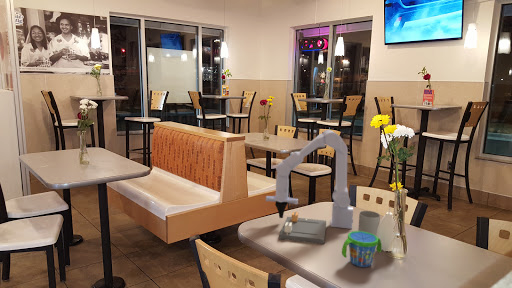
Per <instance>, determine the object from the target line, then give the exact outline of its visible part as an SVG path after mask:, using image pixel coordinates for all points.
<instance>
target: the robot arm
mask: <svg viewBox="0 0 512 288" xmlns="http://www.w3.org/2000/svg"><path fill="white" fill-rule="evenodd" d="M326 145H327V146H328V147H329V148H332V149H333V150H334V151H335V185H334V191H333V193H332V200H333V203H332V209H331V220H330V227H331V228H332V227H333V228H342V229H349V230H350V229H351V230H352V229H353V223H354V217H353V216H354V207H353V206H350V205H351V199H350V197H349V189H348V154H349V152H348V146H347V145H346V143H345V141H344V140H343V138H342V137H341V136H340V135H339V134H337V132H335V131H333V130H330V129H325V130H324V131H322V133H320V134H318V135H317V136H316V137H315V138H313V139H312V140H311V141H310V142H309V143H307V144H306V145H305V146H304V147H303V148H302V149H300V150H299V151H293V152H292V151H291V152H290V154H289V156H287V157H286V158H284V159H282V160H281V162H279V163H277V165H276V167H275V170H276V178H275V195H272V196H271V195H266V196H265V202H274V203H275V204H274V205H275V208H276V210H277V211H278V212H277V213H278V218H279V219H283V218H284V214H285V211H286V207H287V205H288V204H294V205H298V204H299V199H298V198H294V197H289V187H290V186H289V183H290V182H289V181H290V179H289V176H290V174H291V171H292V170H295V168H297V167H298V166H299V165H301V164H302V163H303V162H304V158H305V157H306V156H308V155H309V154H311V153H312V152H313V151H314V150H316V149H317V148H325V147H326Z"/></svg>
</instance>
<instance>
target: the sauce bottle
mask: <svg viewBox="0 0 512 288" xmlns="http://www.w3.org/2000/svg"><path fill="white" fill-rule="evenodd" d="M393 215H394V214H393V212H391V207H390V206H389V208H388V211H387V212H386V213H385V214H384V216H383V217H382V218H381V219H380V223H379V226H378V229H377V237H378V238H379V239H380V240H381V244H382V250H381V251H383V252H385V251H386V250H388V248H389V246H390V244H391V242H392V240H393V238H394V232H393V231H394V229H393V228H394V226H395V221H396V220H395V221H394V219H395V218H394V219H393V217H394V216H393Z"/></svg>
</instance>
